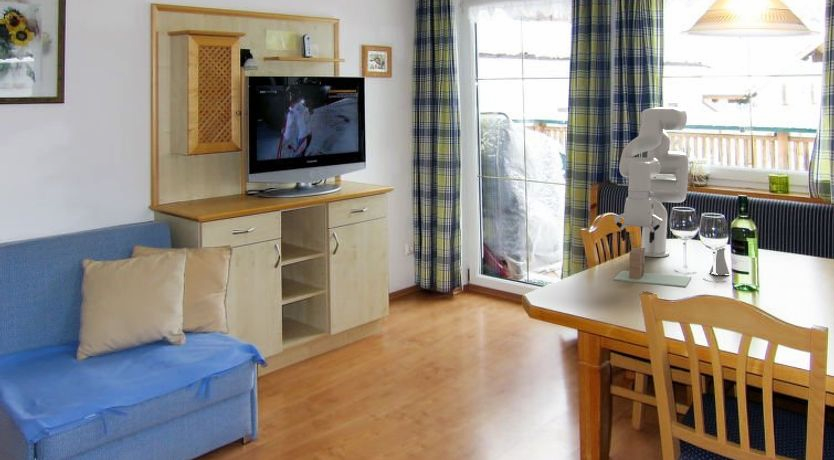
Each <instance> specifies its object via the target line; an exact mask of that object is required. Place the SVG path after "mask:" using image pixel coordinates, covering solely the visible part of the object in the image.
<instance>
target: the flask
mask: <svg viewBox="0 0 834 460" xmlns="http://www.w3.org/2000/svg"><path fill="white" fill-rule="evenodd" d="M725 250H726V248H725V247H724V248H722V249H719V250H717V249H716V256H715V258H716V273H717V274H718V275H725V274H729V275H730V272H729V269H728V268H729V267H728V265H727V261H726V257H725ZM709 272H710V273H712V272H713V264H712V266H711V268H710V270H709Z"/></svg>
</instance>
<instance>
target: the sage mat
mask: <svg viewBox="0 0 834 460" xmlns="http://www.w3.org/2000/svg"><path fill="white" fill-rule="evenodd" d="M613 280H614V281H618V280H619V281H620V282H628V283H629V282H631V283H639V284H640V283H641V284H649V285H658V286H659V285H660V286H670V287H679V288H681V287H682V288H686V287H687V286H688V284H689V283H690V282H691V280H692V277H691V276H682V275H672V274H671V275H670V274H661V273H651V272H644V275H643V276H642V277H641V278H640V279H630V278H629V270H621V271H620V272H619V273H618V274H616V276H615V277H614V278H613Z"/></svg>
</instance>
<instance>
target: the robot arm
mask: <svg viewBox="0 0 834 460" xmlns="http://www.w3.org/2000/svg"><path fill="white" fill-rule="evenodd" d="M687 115H688V114H687V112H686V110H685V109H684V108H681V107H679V108H678V107H652V108H651V107H650V108H647V109H644V110H643V111H642V112H641V114H640V121H641V123H640V128H639V132H638V136H637V137H635V138H634V139H632V140H631V141H630V142H629V143H627V144H626V146H625V147H624V148H623V150H622V152H621V157H620V160H619V166H618V167H619V170H618V171H619V173H620V175H621V176H622V177H623V178H628V192H627V194H628V195H627V197H626V198H625V204H624V207H623V208H624V209H623V213H620V214H618V215H616V216H614V217H613V220H614V222H615V224H616V226H617V228H619V229H620V238H621V241H623V242H624V241H626V239H627V228H626V227H627V226H628V227H630V226H631V227H639V228H640V227H641V228H642V232H641V233H642V236H641V239H642V240H641V248H645V257H649V258H651V257H652V258H663V257H668V256H669V255H671V254H670V251H669V250H667V233H668V232H667V228H668V211H667V208H666V207H665V206H664V205H663V203H677V204H678V203H683V202H684V201H686V199H687V195H688V179H689V178H688V177H689V158H688V155H687V154H686V153H685V152H682V151H671V150H670V148H671V147H670V145H671V138H670V136H669V135H668V133H667V132H666V131H682V130H683V129H684V128H685V127H686V124H687V121H688V120H687V119H688V116H687ZM646 152H647V155H646V157H644V156H643V157H642V156H641V157H638V156H637V155H640V154H642V153H646ZM657 176H673V177H675V178H665V177H664V178H663V177H662V178H661V177H657ZM620 219H623V220H622V221H623V223H622V222H620Z"/></svg>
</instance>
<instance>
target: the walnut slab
mask: <svg viewBox="0 0 834 460" xmlns="http://www.w3.org/2000/svg"><path fill="white" fill-rule="evenodd" d="M628 257H629V259H628V260H629V261H628V271H629V278H630V279H640V278H641V277H642V276H643V275H644V273H645V258H646V256H645V248H642V247H636V246H635V247H633V248H632V249H631V250H629V256H628Z"/></svg>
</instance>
